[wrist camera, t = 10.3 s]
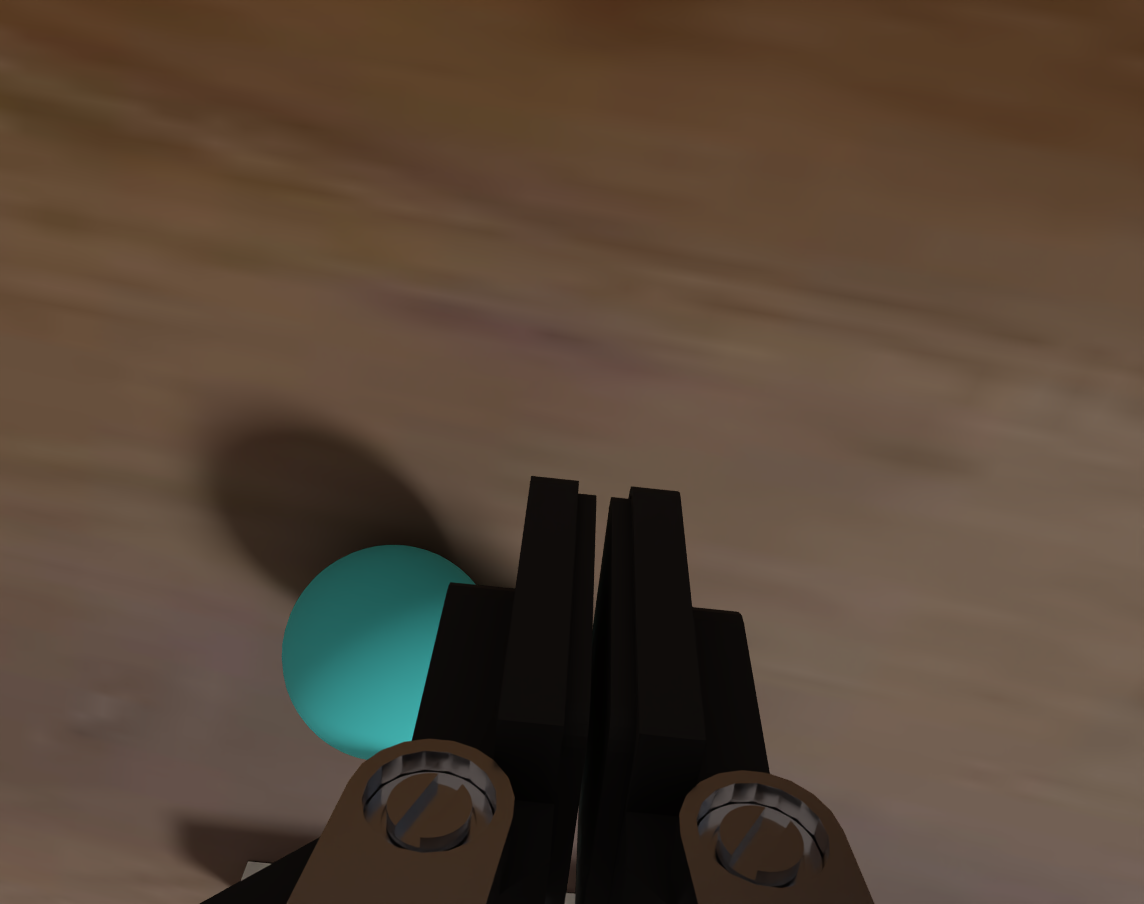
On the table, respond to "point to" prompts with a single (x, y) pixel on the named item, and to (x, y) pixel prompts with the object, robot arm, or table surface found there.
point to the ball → (366, 645)
